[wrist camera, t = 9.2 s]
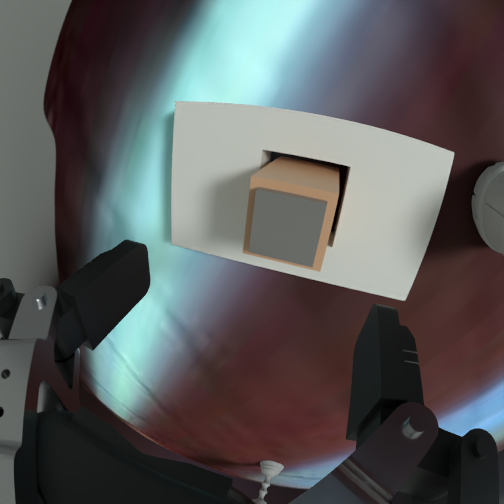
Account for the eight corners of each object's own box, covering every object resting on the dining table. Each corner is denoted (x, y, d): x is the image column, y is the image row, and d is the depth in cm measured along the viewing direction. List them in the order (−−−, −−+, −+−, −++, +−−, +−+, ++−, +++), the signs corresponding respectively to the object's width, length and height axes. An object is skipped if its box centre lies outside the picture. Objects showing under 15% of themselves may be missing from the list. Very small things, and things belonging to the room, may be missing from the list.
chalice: (295, 469, 46) (272, 543, 30) (271, 472, 49) (247, 539, 34) (272, 457, 45) (244, 535, 29) (248, 459, 48) (219, 530, 33)
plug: (280, 156, 22) (247, 178, 14) (339, 167, 21) (339, 197, 13) (272, 210, 24) (239, 257, 16) (327, 222, 23) (319, 277, 16)
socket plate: (194, 101, 21) (175, 101, 19) (440, 147, 17) (454, 152, 15) (187, 231, 27) (171, 244, 25) (399, 281, 23) (404, 301, 20)
